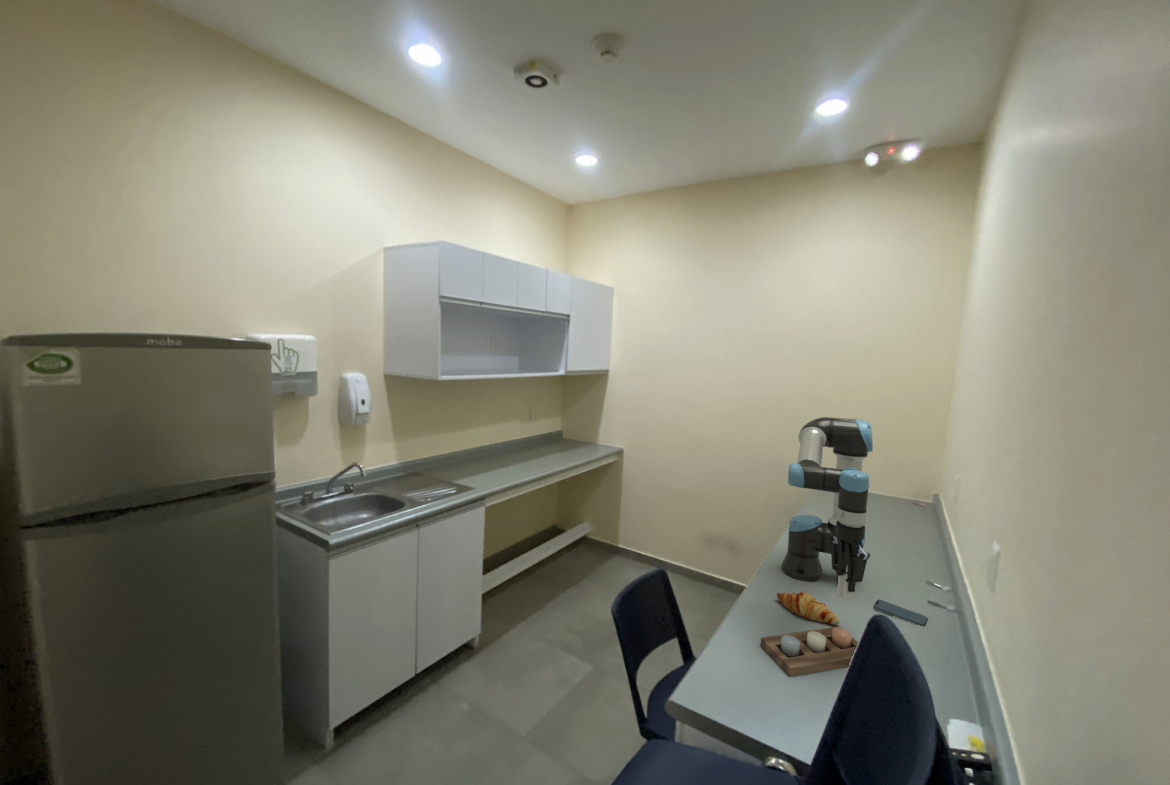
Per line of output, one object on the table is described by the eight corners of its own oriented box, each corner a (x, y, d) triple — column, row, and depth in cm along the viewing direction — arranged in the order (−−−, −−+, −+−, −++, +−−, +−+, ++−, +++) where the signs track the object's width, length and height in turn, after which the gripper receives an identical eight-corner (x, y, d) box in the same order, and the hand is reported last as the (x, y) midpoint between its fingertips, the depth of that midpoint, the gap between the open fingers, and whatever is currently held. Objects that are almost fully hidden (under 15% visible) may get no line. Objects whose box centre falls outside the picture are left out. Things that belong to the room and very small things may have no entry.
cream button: (803, 643, 142) (803, 632, 142) (817, 641, 143) (817, 630, 143) (814, 653, 137) (815, 642, 137) (829, 651, 138) (829, 640, 138)
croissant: (841, 633, 156) (847, 609, 158) (833, 631, 150) (839, 606, 152) (778, 605, 172) (784, 584, 173) (769, 602, 165) (775, 580, 167)
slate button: (777, 647, 140) (777, 636, 139) (791, 644, 141) (792, 634, 141) (788, 658, 135) (788, 646, 135) (802, 655, 136) (803, 644, 136)
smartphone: (924, 625, 154) (872, 606, 165) (924, 630, 155) (872, 610, 165) (928, 616, 160) (878, 598, 170) (927, 621, 160) (877, 602, 170)
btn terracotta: (828, 639, 144) (828, 628, 144) (841, 637, 145) (842, 626, 145) (840, 649, 139) (841, 638, 139) (854, 647, 140) (855, 636, 140)
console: (760, 645, 144) (760, 637, 144) (837, 633, 150) (837, 626, 150) (790, 676, 130) (791, 668, 130) (873, 662, 137) (873, 654, 137)
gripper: (821, 514, 145) (816, 587, 147) (860, 533, 130) (853, 613, 133) (842, 513, 146) (836, 584, 149) (882, 531, 132) (875, 610, 135)
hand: (844, 598), depth 141 cm, fingers open, 2 cm apart
